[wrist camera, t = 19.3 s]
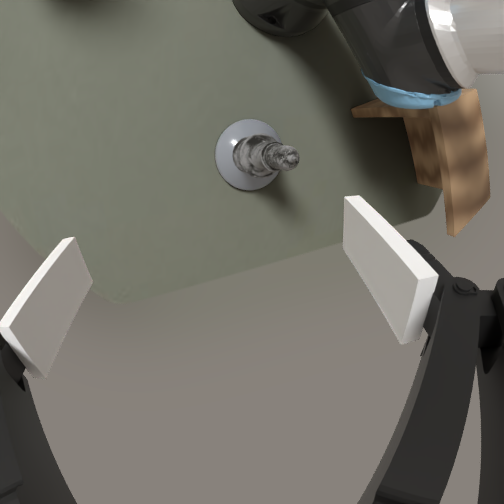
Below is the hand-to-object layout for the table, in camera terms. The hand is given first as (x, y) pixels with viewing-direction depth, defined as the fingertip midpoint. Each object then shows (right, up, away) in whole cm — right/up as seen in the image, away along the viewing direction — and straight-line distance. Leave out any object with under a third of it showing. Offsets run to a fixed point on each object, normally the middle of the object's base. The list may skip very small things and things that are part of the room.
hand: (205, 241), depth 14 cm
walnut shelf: (+29, +19, +37) cm, 51 cm away
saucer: (+2, +13, +27) cm, 30 cm away
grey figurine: (+2, +13, +27) cm, 30 cm away
